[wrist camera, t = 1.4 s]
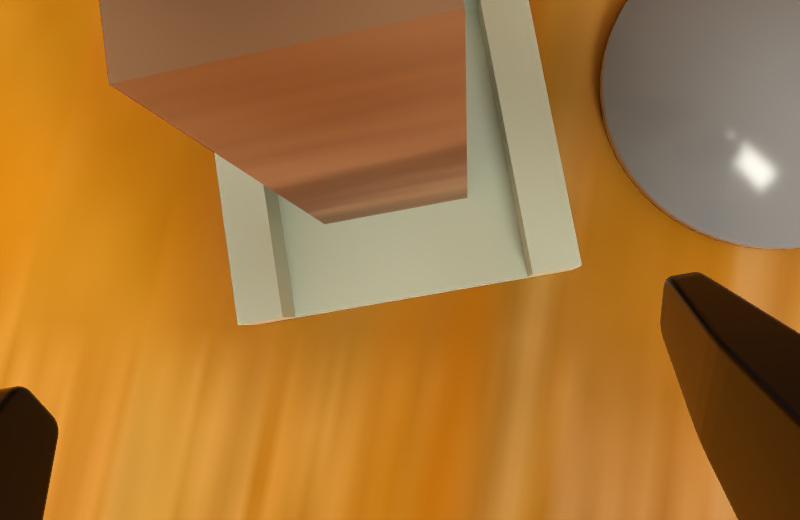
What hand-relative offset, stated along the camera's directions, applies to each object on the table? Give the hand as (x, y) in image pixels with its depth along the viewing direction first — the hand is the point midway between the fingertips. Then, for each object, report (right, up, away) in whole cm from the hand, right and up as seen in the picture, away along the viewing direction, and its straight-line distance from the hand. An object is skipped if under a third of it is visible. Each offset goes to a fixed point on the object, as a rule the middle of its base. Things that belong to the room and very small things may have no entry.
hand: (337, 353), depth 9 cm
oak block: (0, +5, +13) cm, 14 cm away
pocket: (0, +5, +13) cm, 14 cm away
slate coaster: (+13, +7, +12) cm, 19 cm away
